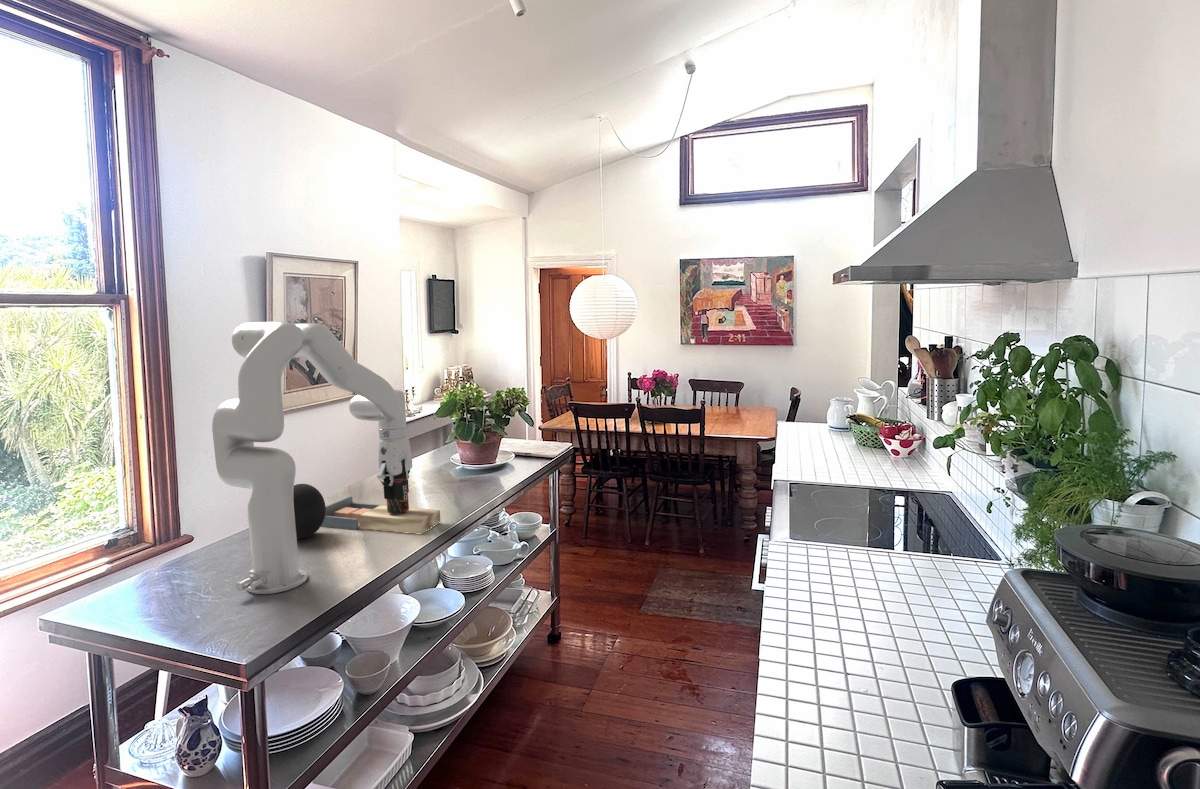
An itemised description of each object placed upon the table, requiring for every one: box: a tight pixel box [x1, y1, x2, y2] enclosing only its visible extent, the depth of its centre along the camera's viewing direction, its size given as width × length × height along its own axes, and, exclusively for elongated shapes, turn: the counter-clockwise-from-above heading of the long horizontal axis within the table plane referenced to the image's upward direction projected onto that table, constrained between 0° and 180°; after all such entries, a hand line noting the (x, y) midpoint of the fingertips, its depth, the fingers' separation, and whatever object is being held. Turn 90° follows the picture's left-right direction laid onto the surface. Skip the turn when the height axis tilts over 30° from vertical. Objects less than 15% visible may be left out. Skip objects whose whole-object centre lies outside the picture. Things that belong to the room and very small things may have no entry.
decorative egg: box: [293, 483, 327, 539], centre depth 181 cm, size 12×12×15 cm
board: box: [359, 504, 442, 534], centre depth 189 cm, size 10×20×4 cm, turn 72°
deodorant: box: [385, 459, 410, 513], centre depth 188 cm, size 6×6×15 cm
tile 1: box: [334, 507, 359, 518], centre depth 196 cm, size 5×5×2 cm
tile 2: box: [351, 508, 372, 522], centre depth 194 cm, size 5×5×2 cm
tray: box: [321, 495, 381, 530], centre depth 195 cm, size 14×13×5 cm
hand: (396, 495), depth 188 cm, fingers closed on deodorant, 5 cm apart
